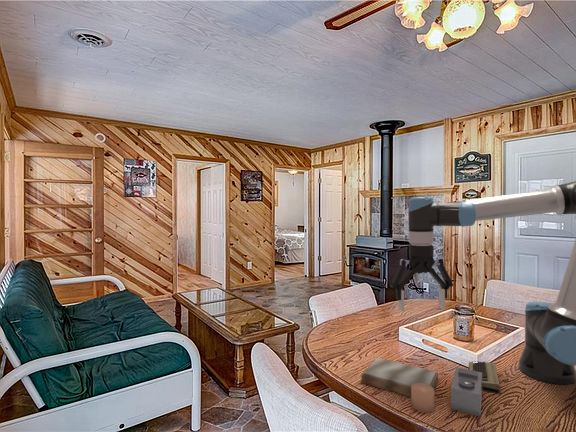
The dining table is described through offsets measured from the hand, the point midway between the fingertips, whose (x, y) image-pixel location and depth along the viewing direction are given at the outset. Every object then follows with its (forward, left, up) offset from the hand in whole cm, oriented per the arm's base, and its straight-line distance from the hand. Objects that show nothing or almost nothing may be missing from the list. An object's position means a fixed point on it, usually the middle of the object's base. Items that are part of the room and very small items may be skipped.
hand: (421, 308), depth 113 cm
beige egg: (-4, +19, -22) cm, 29 cm away
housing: (-14, +9, -22) cm, 28 cm away
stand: (+5, +9, -22) cm, 24 cm away
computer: (-17, -7, -22) cm, 29 cm away
